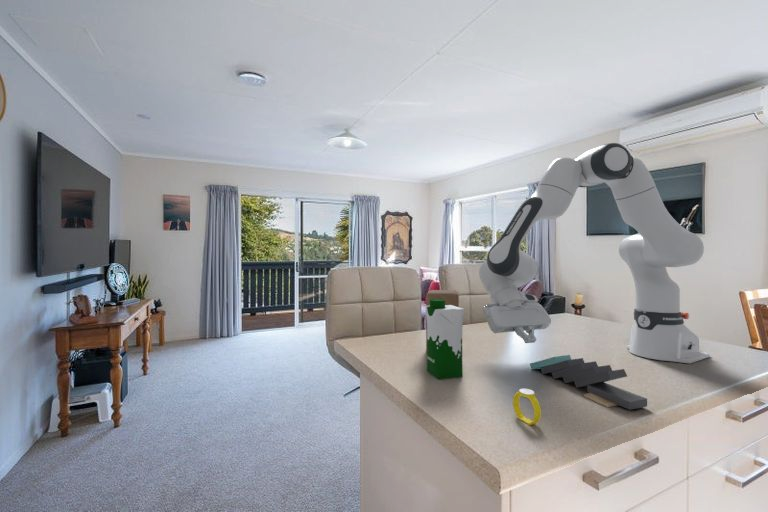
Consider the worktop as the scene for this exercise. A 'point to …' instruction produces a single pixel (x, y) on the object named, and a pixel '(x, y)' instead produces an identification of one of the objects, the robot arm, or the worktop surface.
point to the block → (448, 295)
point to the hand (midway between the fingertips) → (531, 341)
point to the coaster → (600, 400)
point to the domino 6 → (617, 395)
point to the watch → (536, 406)
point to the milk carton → (444, 339)
